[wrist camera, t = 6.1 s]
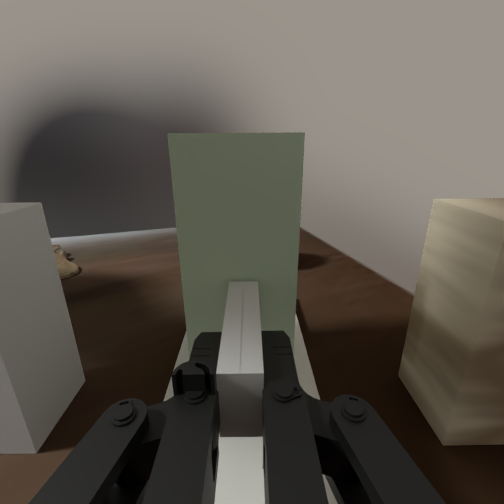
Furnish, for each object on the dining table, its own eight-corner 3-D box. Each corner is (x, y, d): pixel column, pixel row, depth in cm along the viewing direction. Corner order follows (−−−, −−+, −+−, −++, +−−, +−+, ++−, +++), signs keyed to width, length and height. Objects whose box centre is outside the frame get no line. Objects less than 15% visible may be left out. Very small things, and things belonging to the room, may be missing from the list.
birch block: (443, 445, 16) (509, 222, 12) (398, 375, 20) (434, 198, 16) (537, 443, 16) (637, 221, 12) (471, 374, 20) (525, 198, 16)
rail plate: (349, 528, 12) (351, 513, 12) (129, 533, 12) (125, 517, 12) (289, 299, 30) (289, 291, 30) (199, 301, 30) (198, 292, 30)
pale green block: (292, 383, 18) (304, 132, 13) (191, 385, 18) (167, 133, 13) (281, 325, 24) (287, 135, 19) (205, 327, 24) (191, 135, 19)
